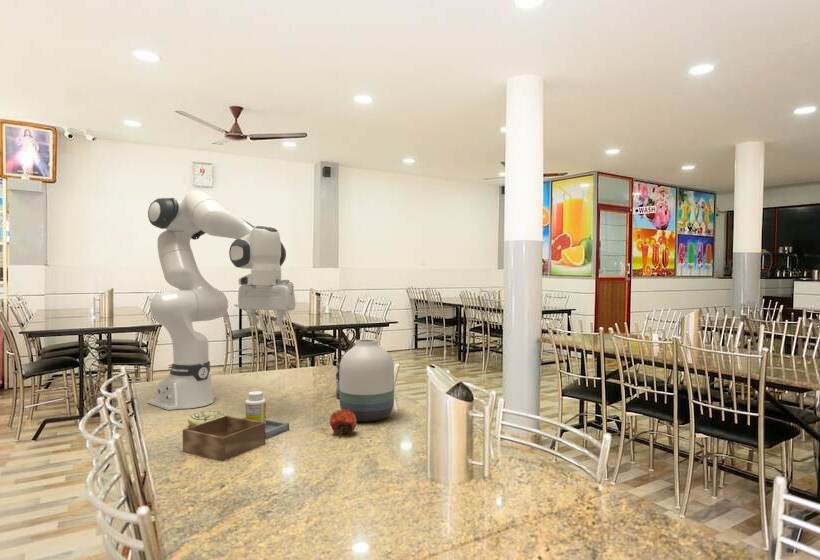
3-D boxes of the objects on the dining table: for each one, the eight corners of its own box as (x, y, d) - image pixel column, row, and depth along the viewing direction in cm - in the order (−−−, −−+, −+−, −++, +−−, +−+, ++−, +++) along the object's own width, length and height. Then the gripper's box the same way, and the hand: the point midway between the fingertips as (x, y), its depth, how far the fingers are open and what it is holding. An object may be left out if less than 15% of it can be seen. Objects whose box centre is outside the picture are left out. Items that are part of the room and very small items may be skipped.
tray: (221, 431, 147) (221, 425, 147) (247, 422, 156) (247, 416, 156) (264, 440, 139) (264, 433, 139) (289, 429, 148) (289, 423, 148)
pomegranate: (355, 445, 142) (363, 415, 149) (346, 429, 137) (355, 399, 145) (330, 446, 144) (340, 416, 151) (321, 430, 140) (331, 400, 147)
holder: (182, 451, 131) (182, 429, 131) (226, 435, 143) (226, 415, 143) (223, 461, 124) (223, 438, 124) (265, 443, 137) (265, 422, 137)
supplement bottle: (258, 424, 152) (258, 389, 151) (269, 428, 148) (269, 392, 148) (241, 428, 147) (241, 392, 147) (252, 432, 144) (252, 396, 144)
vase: (401, 412, 166) (401, 338, 166) (381, 427, 150) (381, 345, 150) (353, 408, 172) (353, 335, 171) (329, 422, 156) (329, 342, 155)
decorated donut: (201, 434, 145) (201, 421, 145) (180, 427, 151) (180, 414, 151) (233, 425, 153) (233, 412, 153) (212, 418, 160) (212, 406, 160)
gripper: (299, 279, 156) (300, 325, 156) (249, 278, 165) (249, 322, 166) (285, 279, 150) (286, 327, 151) (234, 279, 160) (234, 324, 160)
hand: (266, 324), depth 158 cm, fingers open, 8 cm apart
